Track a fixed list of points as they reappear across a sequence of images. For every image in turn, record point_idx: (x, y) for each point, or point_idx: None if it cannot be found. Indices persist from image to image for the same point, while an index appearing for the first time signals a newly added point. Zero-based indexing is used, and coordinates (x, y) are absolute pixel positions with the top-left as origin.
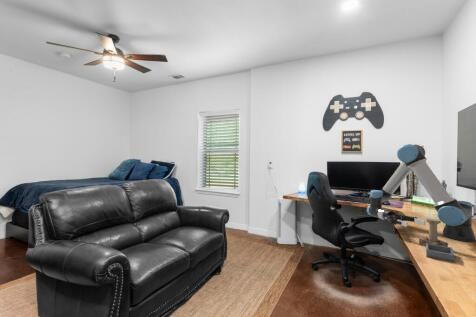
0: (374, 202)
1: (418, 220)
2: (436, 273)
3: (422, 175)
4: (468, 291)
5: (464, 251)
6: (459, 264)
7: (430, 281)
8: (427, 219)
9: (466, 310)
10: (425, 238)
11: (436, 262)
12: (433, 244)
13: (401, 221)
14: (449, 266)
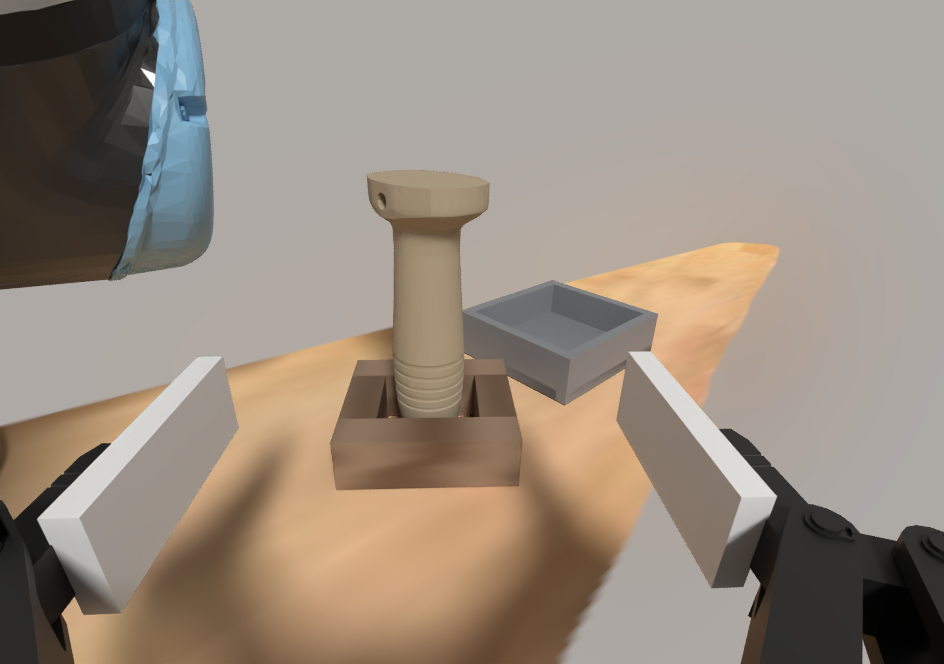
0: None
1: (167, 448)
2: (707, 292)
3: None
4: (674, 258)
5: (327, 359)
6: None
7: (761, 279)
8: (487, 182)
9: (735, 243)
10: (447, 432)
11: None
12: (535, 342)
13: (696, 415)
14: None
